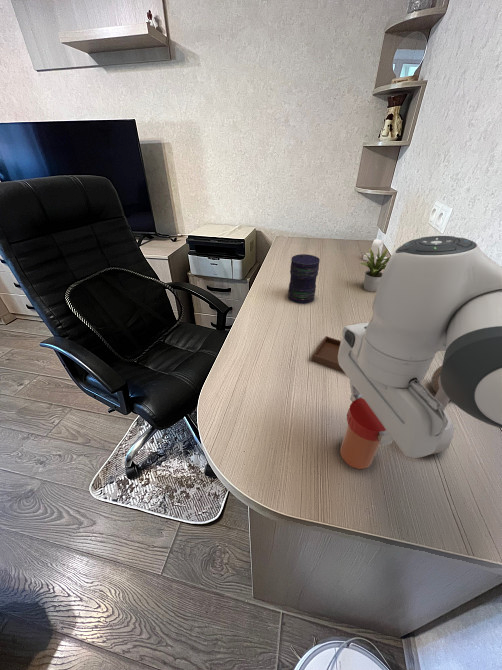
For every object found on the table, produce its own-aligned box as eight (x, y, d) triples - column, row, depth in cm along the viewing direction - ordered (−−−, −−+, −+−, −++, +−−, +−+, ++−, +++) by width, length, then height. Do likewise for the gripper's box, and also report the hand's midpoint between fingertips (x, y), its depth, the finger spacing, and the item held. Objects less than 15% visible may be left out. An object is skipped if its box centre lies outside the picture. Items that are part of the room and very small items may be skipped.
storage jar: (319, 301, 102) (325, 262, 93) (295, 306, 99) (299, 265, 90) (306, 290, 109) (310, 252, 101) (283, 294, 107) (286, 256, 98)
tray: (363, 354, 76) (365, 348, 75) (353, 376, 69) (355, 370, 68) (324, 341, 81) (325, 335, 80) (311, 360, 74) (312, 354, 73)
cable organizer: (366, 256, 141) (371, 236, 135) (386, 261, 136) (392, 240, 130) (362, 259, 138) (366, 238, 132) (382, 264, 132) (388, 243, 127)
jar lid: (393, 418, 48) (397, 408, 46) (385, 449, 43) (389, 439, 42) (352, 401, 51) (355, 391, 49) (341, 428, 46) (343, 419, 45)
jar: (375, 449, 53) (392, 411, 46) (367, 475, 49) (385, 436, 42) (345, 435, 55) (357, 397, 49) (335, 458, 51) (347, 420, 45)
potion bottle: (449, 437, 55) (495, 370, 45) (436, 469, 50) (485, 401, 39) (403, 413, 60) (435, 347, 50) (387, 439, 55) (419, 372, 44)
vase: (422, 380, 68) (436, 352, 63) (452, 383, 67) (468, 355, 62) (433, 401, 63) (449, 373, 58) (466, 404, 62) (485, 376, 57)
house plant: (391, 301, 102) (405, 257, 92) (352, 294, 106) (361, 252, 97) (390, 285, 113) (403, 245, 103) (355, 280, 117) (364, 241, 108)
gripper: (476, 411, 31) (430, 476, 39) (372, 317, 47) (354, 376, 55) (427, 421, 30) (389, 486, 38) (338, 321, 46) (325, 381, 54)
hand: (368, 420), depth 47 cm, fingers closed on jar lid, 7 cm apart
